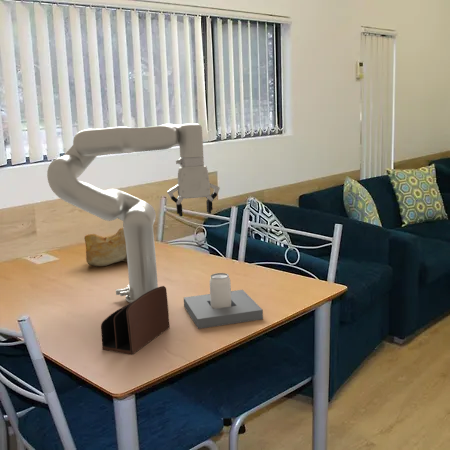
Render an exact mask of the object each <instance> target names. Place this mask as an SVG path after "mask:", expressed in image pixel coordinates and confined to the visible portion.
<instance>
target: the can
mask: <svg viewBox="0 0 450 450" xmlns="http://www.w3.org/2000/svg"><path fill="white" fill-rule="evenodd" d="M229 276H230V275H229V274H228V273H225V272H216V273H212V274H211V275H210V279H209V294H210V302H211V307H212V309H217V308H224V307H231V291H232V290H231V289H232V287H231V279H230V277H229Z"/></svg>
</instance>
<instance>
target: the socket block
mask: <svg viewBox="0 0 450 450" xmlns="http://www.w3.org/2000/svg"><path fill="white" fill-rule="evenodd" d="M183 307H184V308H185V310H186V312H187V313H188V315H189V316H190V318H191V320H192V321H193V323H194V324H195V326H196V329H207V328H213V327H219V326H226V325H232V324H233V325H235V324H238V323H239V324H240V323H245V322H254V321H260V320H264V313H263V312H264V310H263V308H262V307H261V306H260V305H258V303H256V301H255V300H254V299H253V298H252V297H251V296H249V295H248V293H247V292H246V291H245V290H243V289H237V290H231V307H224V308H217V309H212V307H211V302H210V293H208V294H207V293H206V294H201V295H199V294H198V295H193V296H192V295H191V296H186V297H185V296H184V297H183Z"/></svg>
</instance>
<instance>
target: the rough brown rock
mask: <svg viewBox="0 0 450 450" xmlns="http://www.w3.org/2000/svg"><path fill="white" fill-rule="evenodd" d="M84 242H85V244H84V245H85V254H86V255H85V260H86V261H85V262H86V263H87V265H90V266H93V267H105V266H110V265H113V264H115V263H119V262H127V253H126V242H125V236H124V230H123V226H122V227H120V228H119V229H118V230H117V232H116V233H114V234H112V235H109V236H101V235H99V234H96V233H88V234H85V235H84Z"/></svg>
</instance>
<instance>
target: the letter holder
mask: <svg viewBox="0 0 450 450" xmlns="http://www.w3.org/2000/svg"><path fill="white" fill-rule="evenodd" d="M167 291H168V290H167V287H165V285H161V286H158V288H155V289H153V290H151V291H149V292H147V293H145V294H143V295H142V296H140V297H139V298H138V299H136V300H135V301H133V302H131V303H130V302H129V303H128V304H125V305H124V306H122V307H120V308H119V309H117V310H116V311H114V312H112V313H111V314H110V315H108V316H107V317H106V318H104V319H103V321H102V322H101V324H100V333H101V335H100V337H101V350H103V351H108V352H114V353H119V354H120V353H121V354H125V355H132V356H133V355H134V354H135V353H137V352H138V351H139V350H141V349H142V348H143V347H145V346H146V345H148V344H149V343H150V342H152V341H153V340H155V339H156V338H157V337H159V336H160V335H161V334H163V333H164V332H166V331H167V330H168V329H170V327H171V326H170V324H171V323H170V316H169V315H170V313H169V302H168V293H167Z"/></svg>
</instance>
